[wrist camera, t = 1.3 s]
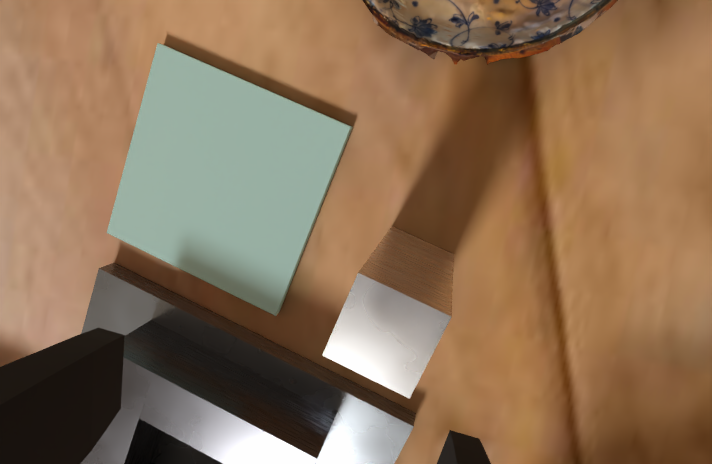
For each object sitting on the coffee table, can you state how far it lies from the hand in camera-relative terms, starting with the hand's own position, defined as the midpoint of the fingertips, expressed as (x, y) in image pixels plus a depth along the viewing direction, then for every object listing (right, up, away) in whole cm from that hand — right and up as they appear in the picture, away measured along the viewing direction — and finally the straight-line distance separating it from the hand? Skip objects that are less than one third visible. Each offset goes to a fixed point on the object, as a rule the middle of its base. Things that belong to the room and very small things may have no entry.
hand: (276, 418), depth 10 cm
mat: (-4, +6, +11) cm, 13 cm away
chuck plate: (-5, -6, +14) cm, 16 cm away
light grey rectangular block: (+4, +2, +10) cm, 11 cm away
